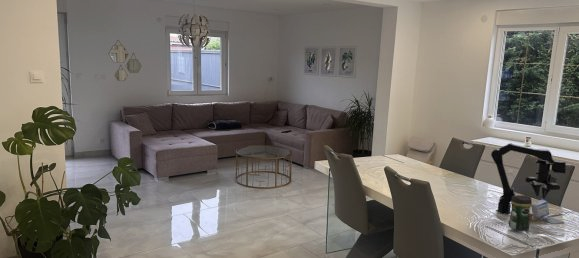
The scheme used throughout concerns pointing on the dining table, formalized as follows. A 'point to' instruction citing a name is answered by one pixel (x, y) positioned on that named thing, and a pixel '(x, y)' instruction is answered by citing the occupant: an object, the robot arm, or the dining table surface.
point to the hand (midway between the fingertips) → (540, 197)
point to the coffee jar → (520, 212)
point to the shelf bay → (534, 218)
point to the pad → (552, 220)
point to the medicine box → (540, 209)
